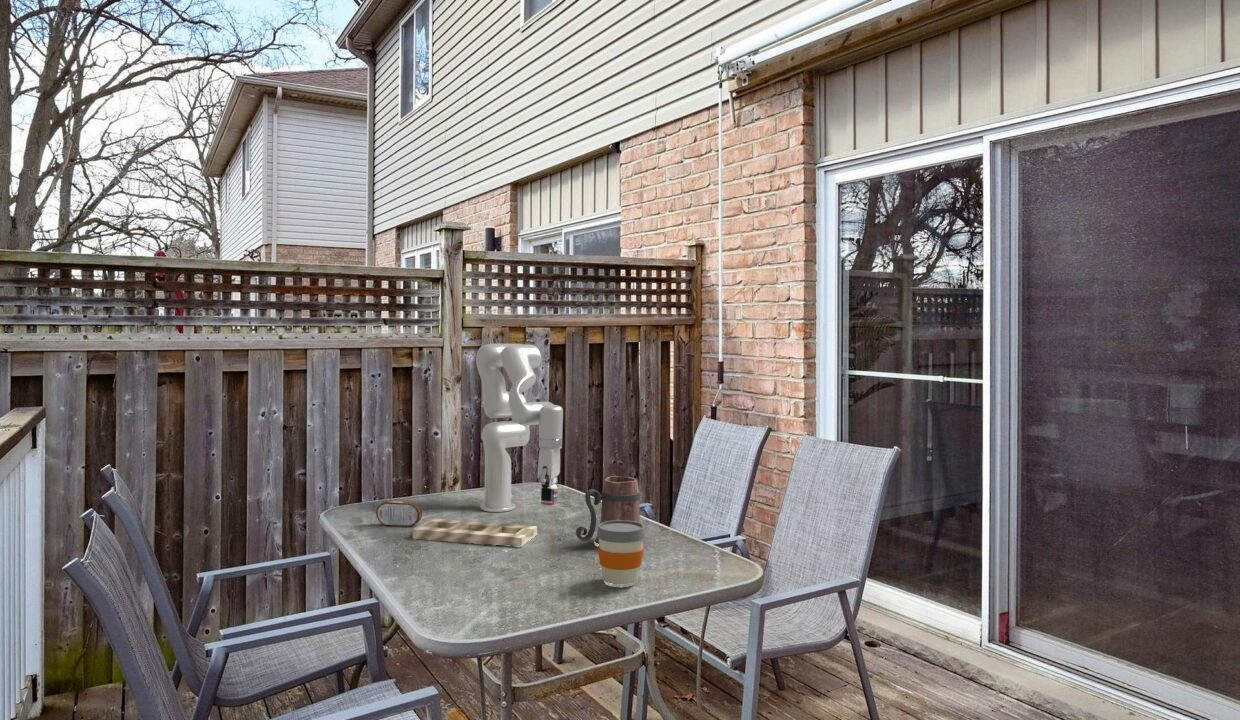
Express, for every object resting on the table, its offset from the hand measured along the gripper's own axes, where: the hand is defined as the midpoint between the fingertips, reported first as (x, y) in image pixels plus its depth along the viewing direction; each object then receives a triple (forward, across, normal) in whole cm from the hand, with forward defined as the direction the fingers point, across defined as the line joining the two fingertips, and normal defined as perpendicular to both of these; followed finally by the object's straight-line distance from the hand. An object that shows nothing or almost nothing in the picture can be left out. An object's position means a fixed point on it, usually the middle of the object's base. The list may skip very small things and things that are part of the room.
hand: (549, 497), depth 257 cm
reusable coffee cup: (+9, +45, +35) cm, 57 cm away
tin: (+12, +9, -49) cm, 51 cm away
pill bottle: (+3, 0, 0) cm, 3 cm away
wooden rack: (+11, +15, -19) cm, 27 cm away
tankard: (+10, +11, +24) cm, 28 cm away
